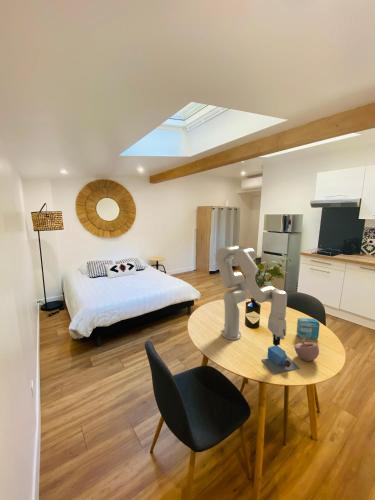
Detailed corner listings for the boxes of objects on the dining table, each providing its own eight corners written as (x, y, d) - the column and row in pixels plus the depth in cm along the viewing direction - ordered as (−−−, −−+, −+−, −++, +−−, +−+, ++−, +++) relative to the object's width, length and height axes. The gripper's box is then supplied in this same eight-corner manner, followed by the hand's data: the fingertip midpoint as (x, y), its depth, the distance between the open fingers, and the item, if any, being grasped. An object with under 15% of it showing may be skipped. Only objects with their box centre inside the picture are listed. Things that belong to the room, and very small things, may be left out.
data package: (298, 337, 146) (299, 321, 144) (296, 334, 151) (297, 317, 149) (318, 339, 145) (320, 322, 142) (315, 335, 149) (317, 318, 147)
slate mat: (261, 360, 125) (261, 359, 125) (286, 355, 129) (286, 354, 129) (273, 374, 115) (273, 373, 115) (299, 368, 119) (299, 367, 118)
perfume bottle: (268, 347, 126) (284, 360, 115) (276, 345, 128) (293, 357, 117) (267, 357, 127) (283, 371, 116) (276, 354, 129) (292, 368, 118)
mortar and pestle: (302, 349, 134) (304, 332, 132) (322, 361, 124) (324, 342, 122) (289, 355, 129) (290, 337, 127) (308, 368, 118) (310, 349, 116)
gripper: (263, 308, 126) (262, 338, 129) (281, 320, 111) (278, 354, 115) (275, 306, 127) (273, 336, 131) (294, 318, 113) (291, 351, 116)
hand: (276, 344), depth 123 cm, fingers closed
